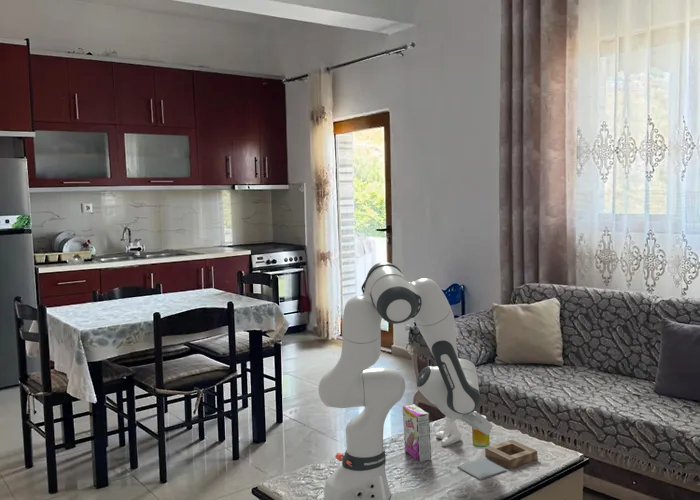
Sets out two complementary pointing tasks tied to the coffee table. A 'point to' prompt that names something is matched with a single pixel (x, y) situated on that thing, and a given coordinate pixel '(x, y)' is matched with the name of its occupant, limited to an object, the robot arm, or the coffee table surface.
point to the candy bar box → (417, 432)
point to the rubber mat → (482, 468)
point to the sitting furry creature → (449, 433)
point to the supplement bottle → (480, 439)
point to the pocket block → (510, 461)
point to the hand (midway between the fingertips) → (482, 429)
